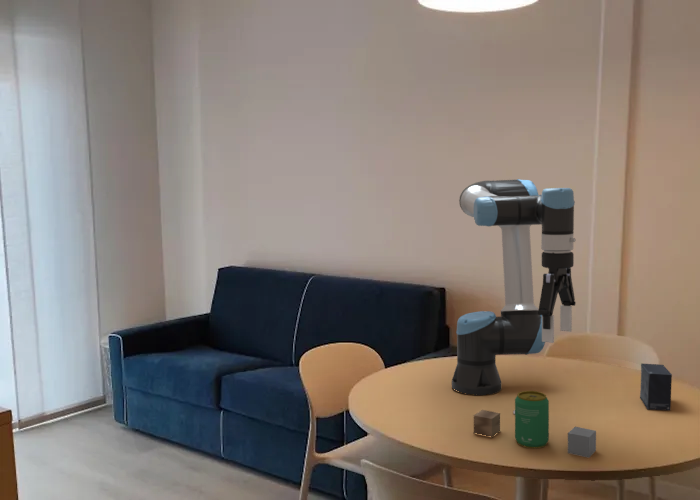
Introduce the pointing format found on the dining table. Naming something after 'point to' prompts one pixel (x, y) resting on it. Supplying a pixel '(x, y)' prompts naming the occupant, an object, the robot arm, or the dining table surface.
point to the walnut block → (487, 423)
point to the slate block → (582, 442)
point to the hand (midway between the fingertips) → (557, 336)
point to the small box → (655, 387)
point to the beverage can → (531, 419)
